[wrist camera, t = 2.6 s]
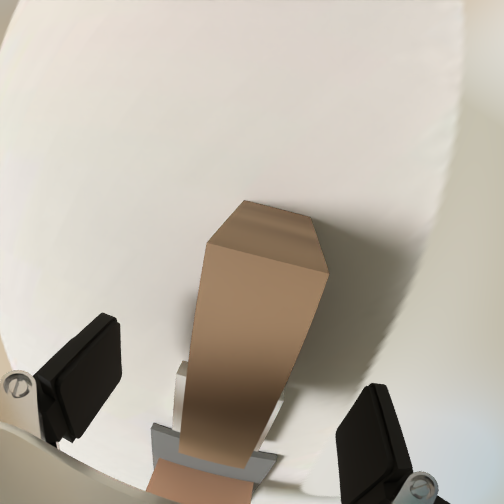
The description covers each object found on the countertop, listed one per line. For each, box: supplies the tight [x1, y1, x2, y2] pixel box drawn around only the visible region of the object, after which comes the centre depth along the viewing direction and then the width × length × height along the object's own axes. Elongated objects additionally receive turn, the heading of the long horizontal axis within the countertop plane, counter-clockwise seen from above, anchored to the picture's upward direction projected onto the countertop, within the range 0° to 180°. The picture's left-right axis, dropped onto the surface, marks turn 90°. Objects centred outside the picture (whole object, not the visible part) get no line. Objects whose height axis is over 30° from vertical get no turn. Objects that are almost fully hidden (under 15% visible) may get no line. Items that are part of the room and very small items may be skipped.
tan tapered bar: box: [172, 200, 329, 469], centre depth 10 cm, size 13×5×5 cm, turn 167°
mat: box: [151, 423, 277, 494], centre depth 18 cm, size 16×8×1 cm, turn 167°
